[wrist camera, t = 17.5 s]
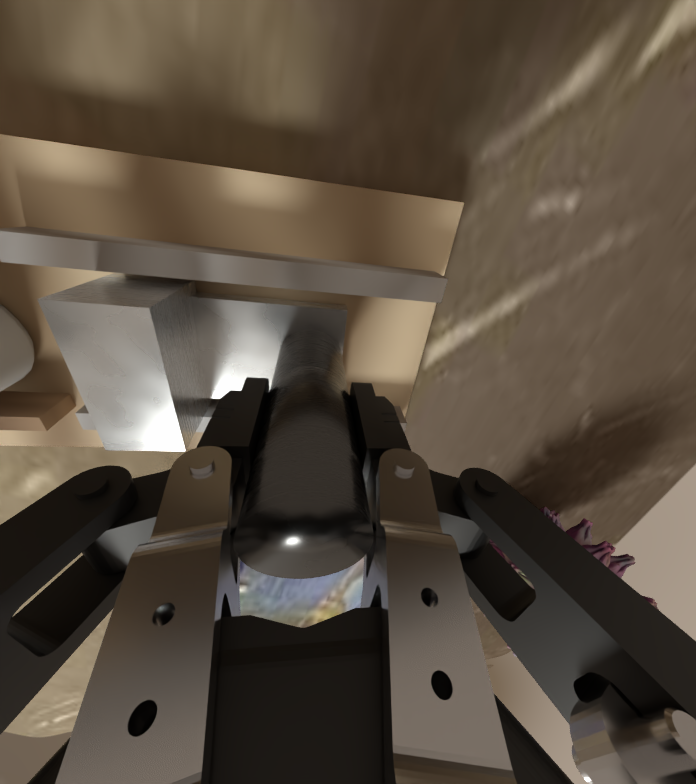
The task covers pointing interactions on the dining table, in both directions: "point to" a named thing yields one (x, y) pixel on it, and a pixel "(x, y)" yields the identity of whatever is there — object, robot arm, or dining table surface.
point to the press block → (212, 381)
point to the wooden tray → (210, 260)
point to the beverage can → (13, 349)
